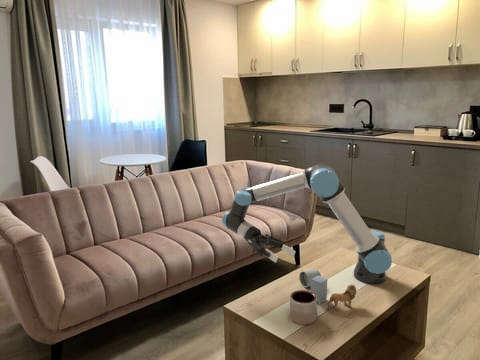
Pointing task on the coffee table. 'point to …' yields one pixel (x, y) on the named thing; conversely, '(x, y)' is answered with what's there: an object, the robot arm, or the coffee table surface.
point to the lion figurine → (343, 297)
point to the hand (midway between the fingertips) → (286, 256)
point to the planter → (303, 307)
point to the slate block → (319, 288)
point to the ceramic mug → (308, 277)
